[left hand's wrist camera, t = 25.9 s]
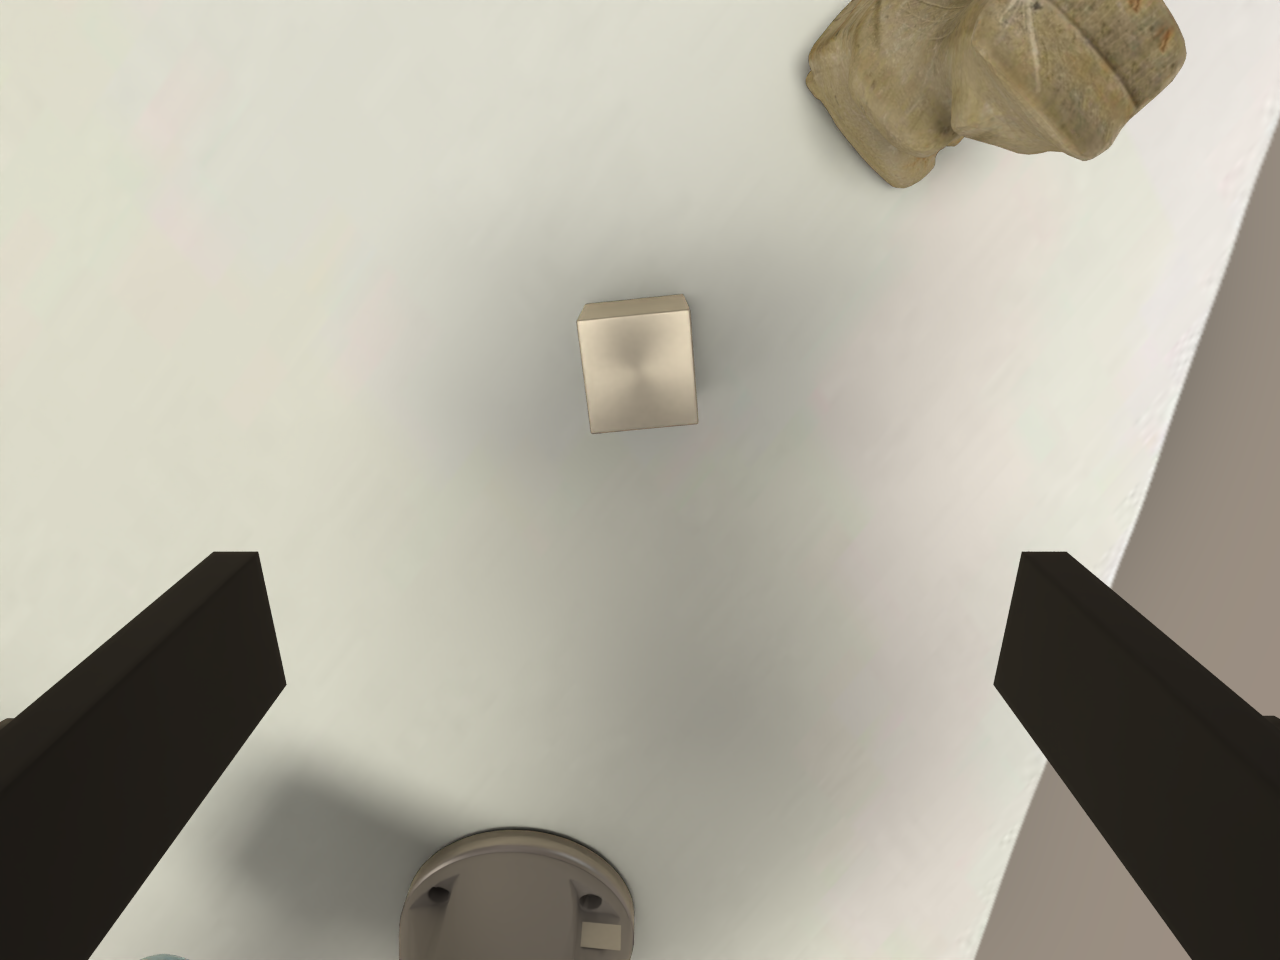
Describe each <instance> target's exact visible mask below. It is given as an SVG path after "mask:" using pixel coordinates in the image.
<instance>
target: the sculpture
mask: <svg viewBox="0 0 1280 960" xmlns="http://www.w3.org/2000/svg"><path fill="white" fill-rule="evenodd" d="M1185 59H1186V48H1185V42H1184V38H1183V36H1182V33H1181V31H1180V29H1179V26H1178V25H1177V23H1176V21H1175V19H1174V17H1173V16H1172V14H1171V12H1170V11H1169V9H1168V8H1167V6H1166V5H1165V3H1164V2H1163V0H852V1H851V2H850V3H849V4H848V5H847V6H846V7H845V8H844V9H843V10H842V11H841V12H840V13H839V15H838V16H837V17H836V18H835V19H834V20H833V22H832V23H831V24H830V25H829V27H828V28H827V29H826V30H825V31H824V33H823V34H822V35H821V37H820V38H819V39H818V40H817V42H816V43H815V44H814V46H813V48H812V49H811V51H810V54H809V66H810V68H811V71H810V72H809V74H808V75H807V77H806V84H807V87H808V88H809V90H810V91H811V92H812V94H813V95H814V97H816V98H817V99H819V100H821V102H822V103H823V104H824V106H825V107H826V109H827V110H828V112H829V114H830V115H831V117H832V119H833V120H834V122H835V124H836V126H837V127H838V128H839V130H840V131H841V132H842V133H843V135H844V136H845V137H846V139H847V140H848V141H849V142H850V143H851V145H852V146H853V147H854V148H855V149H856V151H857V152H858V153H859V154H860V155H861V156H862V158H863V159H864V160H865V161H866V162H867V163H868V164H869V165H870V166H871V168H873V169H874V170H875V171H876V172H877V173H878V174H879V175H880V176H881V177H882V178H883V179H884V180H885V181H886V182H888V183H889V184H890V185H891V186H893V187H896V188H906V187H909V186H912V185H913V184H915V183H917V182H919V181H920V180H921V179H923V178H924V177H925V176H926V175H927V174H928V173H929V172H930V171H931V170H932V169H933V167H934V165H935V157H936V155H937V153H938V152H939V151H940V150H941V149H943V148H944V147H946V146H956V145H957V144H958V143H959V142H960V141H961V140H962V139H963V138H964V137H967V138H970V139H974V140H977V141H981V142H984V143H988V144H992V145H995V146H998V147H1001V148H1004V149H1007V150H1010V151H1013V152H1016V153H1020V154H1028V155H1029V154H1038V153H1044V152H1047V151H1055V152H1064V153H1066V154H1067V155H1069V156H1072V157H1074V158H1077V159H1080V160H1082V161H1087V160H1090V159H1093V158H1095V157H1096V156H1098V155H1100V154H1101V153H1103V152H1104V151H1105V150H1107V149H1108V148H1109V147H1110V146H1111V145H1112V144H1113V142H1114V140H1115V139H1116V137H1117V135H1118V134H1119V132H1120V131H1121V129H1122V128H1123V127H1124V125H1125V124H1126V123H1127V122H1128V121H1129V120H1130V119H1131V118H1132V117H1133V116H1134V115H1135V114H1136V113H1138V112H1139V111H1140V110H1141V109H1142V108H1143V107H1144V106H1146V105H1147V104H1148V103H1149V102H1150V101H1151V100H1152V99H1154V98H1155V97H1156V96H1157V95H1158V94H1159V93H1160V92H1161V91H1162V90H1163V89H1164V88H1165V87H1167V86H1168V85H1169V84H1170V83H1171V82H1172V81H1173V79H1174V78H1175V76H1176V75H1177V73H1178V72H1179V71H1180V69H1181V68H1182V66H1183V64H1184V61H1185Z"/></svg>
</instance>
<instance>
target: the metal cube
mask: <svg viewBox="0 0 1280 960" xmlns="http://www.w3.org/2000/svg"><path fill="white" fill-rule="evenodd" d="M577 330H578V337H579V345H580V353H581V361H582V368H583V376H584V384H585V391H586V399H587V407H588V414H589V422H590V430H591V433H592V434H597V433H608V432H618V431H629V430H639V429H650V428H660V427H671V426H682V425H692V424H698V409H697V395H696V381H695V368H694V354H693V340H692V327H691V313H690V309H689V306H688V304H687V302H686V299H685V297H684V295H683V294H679V295H669V296H659V297H649V298H640V299H630V300H620V301H610V302H600V303H590V304H585V306H584V308H583V310H582V312H581V314H580V315H579V317H578V319H577Z"/></svg>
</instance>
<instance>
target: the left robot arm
mask: <svg viewBox="0 0 1280 960" xmlns="http://www.w3.org/2000/svg"><path fill="white" fill-rule="evenodd" d="M286 685H287V684H286V680H285V675H284V670H283V666H282V661H281V656H280V652H279V647H278V642H277V638H276V633H275V628H274V624H273V619H272V614H271V610H270V605H269V600H268V596H267V591H266V586H265V582H264V577H263V572H262V568H261V563H260V558H259V554H258V552H213V553H211V554H210V555H209V556H208V557H207V558H205V559H204V560H203V561H202V562H201V563H199V564H198V565H197V566H196V567H195V568H194V569H192V570H191V571H190V572H189V573H188V574H186V575H185V576H184V577H183V578H182V579H180V580H179V581H178V582H177V583H176V584H174V585H173V586H172V587H171V588H170V589H168V590H167V591H166V592H165V593H164V594H162V595H161V596H160V597H159V598H158V599H156V600H155V601H154V602H153V603H152V604H150V605H149V606H148V607H147V608H146V609H145V610H143V611H142V612H141V613H140V614H139V615H137V616H136V617H135V618H134V619H133V620H131V621H130V622H129V623H128V624H127V625H125V626H124V627H123V628H122V629H121V630H119V631H118V632H117V633H116V634H115V635H113V636H112V637H111V638H110V639H109V640H107V641H106V642H105V643H104V644H103V645H101V646H100V647H99V648H98V649H97V650H95V651H94V652H93V653H92V654H91V655H90V656H88V657H87V658H86V659H85V660H84V661H82V662H81V663H80V664H79V665H78V666H76V667H75V668H74V669H73V670H72V671H70V672H69V673H68V674H67V675H66V676H64V677H63V678H62V679H61V680H60V681H58V682H57V683H56V684H55V685H54V686H52V687H51V688H50V689H49V690H48V691H46V692H45V693H44V694H43V695H42V696H41V697H39V698H38V699H37V700H36V701H35V702H33V703H32V704H31V705H30V706H29V707H27V708H26V709H25V710H24V711H23V712H21V713H20V714H19V715H18V716H17V717H15V718H7V719H5V720H3V721H1V722H0V960H88V959H89V958H90V956H91V955H92V953H93V952H94V951H95V949H96V948H97V947H98V945H99V944H100V942H101V941H102V940H103V938H104V937H105V935H106V934H107V933H108V931H109V930H110V929H111V927H112V926H113V924H114V923H115V922H116V920H117V919H118V917H119V916H120V915H121V913H122V912H123V911H124V909H125V908H126V906H127V905H128V904H129V902H130V901H131V899H132V898H133V897H134V895H135V894H136V893H137V891H138V890H139V888H140V887H141V886H142V884H143V883H144V881H145V880H146V879H147V877H148V876H149V875H150V873H151V872H152V870H153V869H154V868H155V866H156V865H157V863H158V862H159V861H160V859H161V858H162V857H163V855H164V854H165V852H166V851H167V850H168V848H169V847H170V845H171V844H172V843H173V841H174V840H175V839H176V837H177V836H178V834H179V833H180V832H181V830H182V829H183V827H184V826H185V825H186V823H187V822H188V820H189V819H190V818H191V816H192V815H193V814H194V812H195V811H196V809H197V808H198V807H199V805H200V804H201V802H202V801H203V800H204V798H205V797H206V796H207V794H208V793H209V791H210V790H211V789H212V787H213V786H214V784H215V783H216V782H217V780H218V779H219V778H220V776H221V775H222V773H223V772H224V771H225V769H226V768H227V766H228V765H229V764H230V762H231V761H232V760H233V758H234V757H235V755H236V754H237V753H238V751H239V750H240V748H241V747H242V746H243V744H244V743H245V742H246V740H247V739H248V737H249V736H250V735H251V733H252V732H253V730H254V729H255V728H256V726H257V725H258V724H259V722H260V721H261V719H262V718H263V717H264V715H265V714H266V712H267V711H268V710H269V708H270V707H271V706H272V704H273V703H274V701H275V700H276V699H277V697H278V696H279V694H280V693H281V692H282V690H283V689H284V687H285V686H286ZM993 685H994V686H995V687H996V689H997V690H998V692H999V693H1000V694H1001V696H1002V697H1003V699H1004V700H1005V701H1006V703H1007V704H1008V706H1009V707H1010V708H1011V710H1012V711H1013V712H1014V714H1015V715H1016V717H1017V718H1018V719H1019V721H1020V722H1021V724H1022V725H1023V726H1024V728H1025V729H1026V730H1027V732H1028V733H1029V735H1030V736H1031V737H1032V739H1033V740H1034V742H1035V743H1036V744H1037V746H1038V747H1039V748H1040V750H1041V751H1042V753H1043V754H1044V755H1045V757H1046V758H1047V760H1048V761H1049V762H1050V764H1051V765H1052V766H1053V768H1054V769H1055V771H1056V772H1057V773H1058V775H1059V776H1060V778H1061V779H1062V780H1063V782H1064V783H1065V784H1066V786H1067V787H1068V789H1069V790H1070V791H1071V793H1072V794H1073V796H1074V797H1075V798H1076V800H1077V801H1078V802H1079V804H1080V805H1081V807H1082V808H1083V809H1084V811H1085V812H1086V814H1087V815H1088V816H1089V818H1090V819H1091V820H1092V822H1093V823H1094V825H1095V826H1096V827H1097V829H1098V830H1099V832H1100V833H1101V834H1102V836H1103V837H1104V838H1105V840H1106V841H1107V843H1108V844H1109V845H1110V847H1111V848H1112V850H1113V851H1114V852H1115V854H1116V855H1117V857H1118V858H1119V859H1120V861H1121V862H1122V863H1123V865H1124V866H1125V868H1126V869H1127V870H1128V872H1129V873H1130V875H1131V876H1132V877H1133V879H1134V880H1135V881H1136V883H1137V884H1138V886H1139V887H1140V888H1141V890H1142V891H1143V893H1144V894H1145V895H1146V897H1147V898H1148V899H1149V901H1150V902H1151V904H1152V905H1153V906H1154V908H1155V909H1156V910H1157V912H1158V913H1159V915H1160V916H1161V917H1162V919H1163V920H1164V922H1165V923H1166V924H1167V926H1168V927H1169V929H1170V930H1171V931H1172V933H1173V934H1174V935H1175V937H1176V938H1177V940H1178V941H1179V942H1180V944H1181V945H1182V947H1183V948H1184V949H1185V951H1186V952H1187V954H1188V955H1189V956H1190V958H1191V959H1192V960H1280V719H1279V718H1277V717H1275V716H1262V715H1261V714H1260V713H1259V712H1257V711H1256V710H1255V709H1254V708H1253V707H1251V706H1250V705H1249V704H1248V703H1247V702H1245V701H1244V700H1243V699H1242V698H1241V697H1239V696H1238V695H1237V694H1236V693H1235V692H1234V691H1232V690H1231V689H1230V688H1229V687H1228V686H1226V685H1225V684H1224V683H1223V682H1222V681H1220V680H1219V679H1218V678H1217V677H1216V676H1214V675H1213V674H1212V673H1211V672H1210V671H1208V670H1207V669H1206V668H1205V667H1204V666H1202V665H1201V664H1200V663H1199V662H1198V661H1196V660H1195V659H1194V658H1193V657H1192V656H1190V655H1189V654H1188V653H1187V652H1186V651H1185V650H1183V649H1182V648H1181V647H1180V646H1179V645H1177V644H1176V643H1175V642H1174V641H1173V640H1171V639H1170V638H1169V637H1168V636H1167V635H1165V634H1164V633H1163V632H1162V631H1161V630H1159V629H1158V628H1157V627H1156V626H1155V625H1153V624H1152V623H1151V622H1150V621H1149V620H1147V619H1146V618H1145V617H1144V616H1143V615H1141V614H1140V613H1139V612H1138V611H1137V610H1135V609H1134V608H1133V607H1132V606H1131V605H1130V604H1128V603H1127V602H1126V601H1125V600H1124V599H1122V598H1121V597H1120V596H1119V595H1118V594H1116V593H1115V592H1114V591H1113V590H1112V589H1110V588H1109V587H1108V586H1107V585H1106V584H1104V583H1103V582H1102V581H1101V580H1100V579H1098V578H1097V577H1096V576H1095V575H1094V574H1092V573H1091V572H1090V571H1089V570H1088V569H1086V568H1085V567H1084V566H1083V565H1082V564H1081V563H1079V562H1078V561H1077V560H1076V559H1075V558H1073V557H1072V556H1071V555H1070V554H1069V553H1067V552H1022V554H1021V558H1020V563H1019V568H1018V572H1017V577H1016V582H1015V586H1014V591H1013V596H1012V600H1011V605H1010V610H1009V614H1008V619H1007V624H1006V628H1005V633H1004V638H1003V642H1002V647H1001V652H1000V656H999V661H998V666H997V670H996V675H995V680H994V684H993ZM633 945H634V908H633V902H632V898H631V895H630V893H629V890H628V888H627V886H626V885H625V883H624V881H623V880H622V878H621V877H620V875H619V874H618V873H617V872H616V871H615V870H614V868H613V867H612V866H611V865H610V864H608V863H607V862H606V861H605V860H604V859H603V858H601V857H600V856H599V855H597V854H596V853H594V852H593V851H591V850H589V849H588V848H586V847H584V846H582V845H580V844H578V843H576V842H573V841H571V840H568V839H565V838H562V837H559V836H556V835H552V834H547V833H543V832H536V831H527V830H499V831H491V832H485V833H481V834H476V835H473V836H469V837H466V838H463V839H461V840H458V841H456V842H454V843H452V844H450V845H448V846H446V847H444V848H443V849H441V850H440V851H438V852H437V853H436V854H434V855H433V856H432V857H431V858H429V859H428V860H427V861H426V862H425V863H424V864H423V866H422V867H421V868H420V870H419V871H418V872H417V874H416V876H415V877H414V879H413V881H412V883H411V886H410V888H409V891H408V894H407V898H406V901H405V904H404V907H403V910H402V913H401V917H400V929H399V960H630V958H631V954H632V951H633ZM141 960H188V959H185V958H182V957H178V956H175V955H169V954H159V955H153V956H149V957H146V958H143V959H141Z"/></svg>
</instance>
